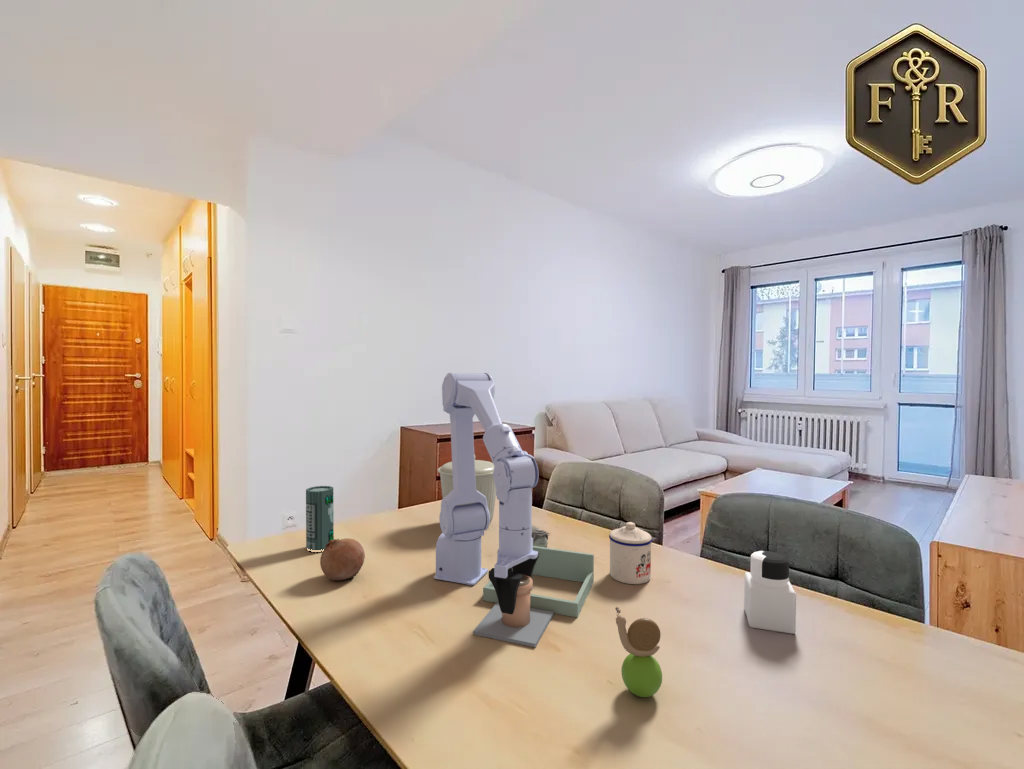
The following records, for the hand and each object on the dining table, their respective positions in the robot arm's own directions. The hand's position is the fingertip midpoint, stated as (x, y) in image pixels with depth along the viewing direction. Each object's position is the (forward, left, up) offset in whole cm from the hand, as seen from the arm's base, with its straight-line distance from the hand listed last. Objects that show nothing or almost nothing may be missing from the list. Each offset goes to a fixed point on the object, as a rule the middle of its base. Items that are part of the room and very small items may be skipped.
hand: (515, 602), depth 84 cm
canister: (-31, +47, -4) cm, 56 cm away
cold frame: (0, +14, -4) cm, 15 cm away
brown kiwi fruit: (-41, +5, -4) cm, 42 cm away
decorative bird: (-8, +32, -4) cm, 33 cm away
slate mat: (0, 0, -4) cm, 4 cm away
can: (-58, +17, -4) cm, 61 cm away
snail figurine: (+22, -11, -4) cm, 25 cm away
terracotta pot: (0, 0, -3) cm, 3 cm away
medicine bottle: (+42, +17, -4) cm, 46 cm away
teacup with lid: (+17, +29, -4) cm, 34 cm away
